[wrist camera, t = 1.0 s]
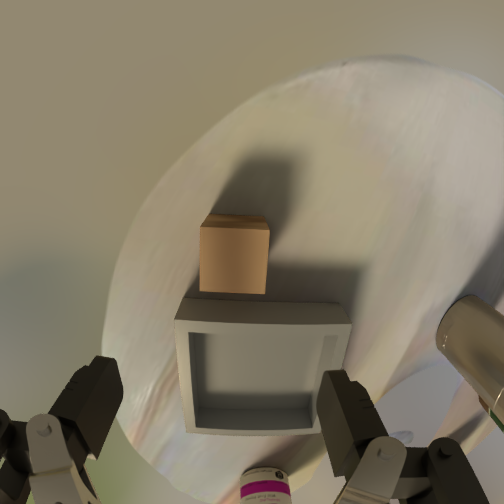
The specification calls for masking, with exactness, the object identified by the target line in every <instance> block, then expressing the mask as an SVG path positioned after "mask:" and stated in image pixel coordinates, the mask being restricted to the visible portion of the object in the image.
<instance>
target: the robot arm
mask: <svg viewBox="0 0 504 504" xmlns="http://www.w3.org/2000/svg"><path fill="white" fill-rule="evenodd" d="M436 344H437V347H438V349H439V350H440V351H441V353H442V354H443V355H444V356H445V357H446V358H447V359H448V360H449V361H450V362H451V364H452V365H453V366H454V367H455V368H456V369H457V370H458V372H459V373H460V374H461V375H462V376H463V377H464V378H465V379H466V381H467V382H468V383H469V384H470V385H471V386H472V387H473V389H474V390H475V391H476V392H477V393H478V394H479V396H480V397H481V398H482V399H483V400H484V402H485V403H486V404H487V405H488V406H489V408H490V409H491V410H492V411H493V412H494V414H495V415H496V416H497V417H498V418H499V420H500V421H501V422H502V423H503V425H504V315H502V314H501V313H500V312H498V311H497V310H495V309H494V308H493V307H491V306H490V305H488V304H487V303H486V302H484V301H483V300H481V299H480V298H478V297H477V296H474V295H469V296H466V297H463V298H462V299H460V300H459V301H457V302H456V303H455V304H454V305H453V306H452V307H451V308H450V309H449V310H448V312H447V313H446V315H445V316H444V318H443V320H442V321H441V323H440V326H439V328H438V332H437V336H436ZM122 399H123V385H122V381H121V378H120V374H119V370H118V366H117V362H116V360H115V359H114V358H109V357H103V356H96V357H95V358H94V359H93V361H92V362H91V364H90V365H89V366H86V365H85V366H83V367H82V368H80V369H79V370H77V371H76V372H75V373H74V375H73V376H72V378H71V379H70V382H68V384H67V385H66V386H65V389H64V390H63V391H62V393H61V394H60V395H59V397H58V398H57V400H56V402H55V403H54V405H53V406H52V408H51V409H50V411H49V412H48V414H39V415H36V416H34V417H32V418H31V419H30V420H29V421H28V422H21V421H12V420H11V419H10V418H9V416H8V415H7V413H6V412H5V411H4V410H1V409H0V461H1V459H2V457H4V459H5V461H4V463H3V465H2V467H1V469H0V504H26V502H27V499H28V496H29V494H30V491H31V490H32V494H33V498H34V501H35V504H102V503H101V501H100V499H99V497H98V494H97V492H96V490H95V488H94V485H93V483H92V481H91V478H90V476H89V473H88V471H87V468H86V466H85V464H84V463H85V460H86V458H90V459H93V460H97V459H98V457H99V454H100V452H101V449H102V447H103V444H104V442H105V439H106V437H107V435H108V432H109V430H110V428H111V425H112V423H113V420H114V418H115V416H116V414H117V411H118V409H119V407H120V404H121V402H122ZM316 410H317V415H318V418H319V422H320V425H321V429H322V433H323V436H324V440H325V443H326V447H327V451H328V454H329V458H330V461H331V465H332V469H333V473H334V477H338V476H345V479H346V483H345V485H344V486H343V488H342V490H341V491H340V493H339V495H338V496H337V498H336V500H335V501H334V503H333V504H389V502H390V499H398V500H399V503H400V504H489V501H488V499H487V497H486V495H485V493H484V491H483V489H482V487H481V485H480V483H479V481H478V479H477V477H476V475H475V473H474V471H473V469H472V467H471V466H470V463H469V462H468V460H467V458H466V456H465V454H464V452H463V451H462V449H461V447H460V445H459V444H458V443H457V442H456V441H454V440H453V439H450V438H445V437H443V438H438V439H435V440H434V441H433V442H432V443H431V444H430V445H429V447H425V448H416V447H412V448H411V447H405V446H404V444H403V443H402V442H401V441H399V440H398V439H396V438H393V437H389V435H388V433H387V431H386V429H385V427H384V425H383V423H382V421H381V419H380V416H379V414H378V412H377V410H376V408H374V404H373V402H372V400H370V396H369V394H368V392H367V390H366V389H365V388H364V387H363V386H362V385H361V384H360V383H359V382H357V381H350V380H349V377H348V375H347V373H346V371H345V370H344V369H341V370H326V371H324V373H323V376H322V380H321V384H320V388H319V392H318V396H317V400H316Z"/></svg>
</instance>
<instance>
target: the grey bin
mask: <svg viewBox="0 0 504 504" xmlns="http://www.w3.org/2000/svg"><path fill="white" fill-rule="evenodd" d="M174 326H175V339H176V351H177V361H178V371H179V381H180V389H181V398H182V405H183V413H184V420H185V427H186V432H187V433H197V434H210V435H228V436H285V435H303V434H315V433H320V432H321V425H320V422H319V418H318V415H317V410H316V400H317V396H318V392H319V388H320V384H321V380H322V376H323V373H324V371H326V370H341V367H342V363H343V360H344V356H345V352H346V348H347V344H348V340H349V336H350V332H351V328H352V322H351V321H350V319H349V318H348V316H347V315H346V313H345V312H344V310H343V309H342V307H341V306H340V304H339V303H301V302H261V301H236V300H215V299H197V298H183V299H182V301H181V304H180V306H179V309H178V311H177V313H176V316H175V318H174Z"/></svg>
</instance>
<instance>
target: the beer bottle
mask: <svg viewBox="0 0 504 504" xmlns="http://www.w3.org/2000/svg"><path fill="white" fill-rule="evenodd" d="M479 402H480V403H481V405H482V406H483V408H484V409H485V410H486V411H487V413H488V414H489V415H490V416H491V418H492V419H493V420H494V421H495V423H496V424H497V425H498V427H499V428H500V429H501V430H502V432H503V433H504V425H503V423H502V422H501V421H500V420H499V418H498V417H497V416H496V415H495V414H494V412H493V411H492V410H491V409H490V408H489V406H488V405H487V404H486V403H485V402H484V400H483V399H482V398H481V397H480V396H479Z"/></svg>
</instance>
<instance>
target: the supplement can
mask: <svg viewBox="0 0 504 504" xmlns="http://www.w3.org/2000/svg"><path fill="white" fill-rule="evenodd" d="M240 504H292V502H291V495H290V488H289V482H288V476H287V474H286V473H285V472H283V471H281V470H279V469H277V468H272V467H262V468H255V469H252V470H249V471H247V472H246V473H245V474H243V475H242V476H241V477H240Z"/></svg>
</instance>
